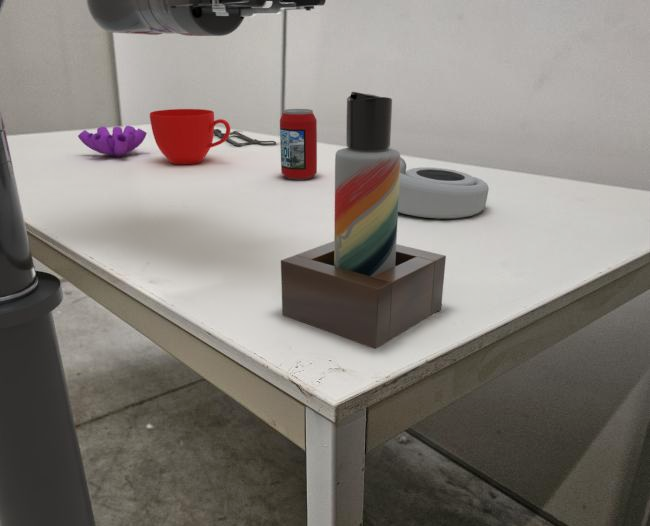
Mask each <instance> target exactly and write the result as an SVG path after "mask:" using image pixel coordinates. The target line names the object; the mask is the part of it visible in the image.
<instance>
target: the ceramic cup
mask: <svg viewBox="0 0 650 526" xmlns="http://www.w3.org/2000/svg"><path fill="white" fill-rule="evenodd" d="M149 120H150V126H151V131H152V135H153V138H154V140H155V143H156V146H157V148H158V150H159V151H160V152H161V153H162V155H163V156H164V157H165V158H166V159H167V160H168V161H169V162H170V164H174V165H195V164H200V163H202V162H203V160H204V159H205V158H206V156H207V155H208V153H209V151H210V149H212V148H214V147H217V146H219V145H222V144H223V143H224V142H226V141H227V140H226V139H227V138H229V136H230V135H229V134H230V133H231V125H230V123H229V121H227V120H226V119H223V118H218V119H215V112H214V111H213V110H210V109H200V108H175V109H173V108H170V109H160V110H153V111H151V112H150V113H149ZM218 124H223V125H224V126H225V132H224V133H225V135H224V137H221V139H220V140H217V141H215V142H213V141H214V135H215V134H214V130H215V127H216V125H218Z"/></svg>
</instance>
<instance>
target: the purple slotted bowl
mask: <svg viewBox="0 0 650 526" xmlns="http://www.w3.org/2000/svg"><path fill="white" fill-rule="evenodd" d="M147 133H148V132H146V131H145V130H144V129H141V128H137V129H136V128H135V126H131V125H126V126H125V127H124V128H122V127H120V126H113V128H112V134H111V133H110V131H109V130H108V128H107V127H106V126H100V127H98V128H97V129H96V133H93V132H89V131H87V130H86V129H84V130H82V131H81V132H80V133H79V134H78V135H77V137H78V139H79V140H80V142H81V143H82V144H84V145H85V146H86V147H87V148H89V149H90V150H92V151H95V152H97V153H99V154H103V155H105V156H110V157H117V158H120V157H122V156H124V155H127V154H128V153H130V152H133V150H135V149H137V148H138V147H140V146H141V144H142V143H143V142H144V140H145V138H146V136H147Z"/></svg>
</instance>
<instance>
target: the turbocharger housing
mask: <svg viewBox="0 0 650 526" xmlns="http://www.w3.org/2000/svg"><path fill="white" fill-rule="evenodd" d="M489 188H490V187H489V185H488V183H487V182H486V181H484V180H483V179H482V178H479V177H475V176H472V175H470V174H468V173H466V172H463V171H458V170H455V169H449V168H441V167H424V166H423V167H422V166H421V167H412V168H410V169H407V162H406V160H405V159H404V158H403V157H401V156H400V182H399V201H398V213H400V214H403V215H408V216H413V217H417V218H418V217H419V218H427V219H439V220H440V219H443V220H444V219H445V220H447V219H448V220H449V219H463V218H467V217H471V216H475V215H478V214H479V213H481V212H482V211H483V210H484V209H485V208H486V205H487V200H488V195H489V190H490V189H489Z"/></svg>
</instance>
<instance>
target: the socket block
mask: <svg viewBox="0 0 650 526" xmlns="http://www.w3.org/2000/svg"><path fill="white" fill-rule="evenodd" d="M446 260H447V256H446V255H445V254H440V253H435V252H431V251H427V250H422V249H419V248H415V247H412V246H411V247H410V246H406V245H402V244H398V243H396V260H395V267H393V268H391V269H389V270H387V271H385V272H382V273H380V274H378V275H376V276H374V277H371V276H367V275H364V274H360V273H357V272H353V271H350V270H346V269H342V268H339V267H335V266H334V240H333V241H329V242H327V243H324V244H321V245H319V246H316V247H314V248H311V249H308V250H305V251H303V252H299V253H297V254H294V255H292V256H288V257H286V258H284V259H281V260H280V281H281V313H282V315H283V316H285V317H288V318H291V319H293V320H295V321H299V322H301V323H305V324H307V325H310V326H313V327H315V328H318V329H321V330H324V331H326V332H329V333H331V334H335V335H338V336H340V337H343V338H345V339H348V340H352V341H354V342H357V343H360V344H362V345H364V346H365V345H366V346H368V347H371V348H374V349H378V348H379V347H381V346H382V345H384V344H386V343H387V342H389V341H391V340H392V339H394V338H395V337H397V336H399V335H401V334H402V333H404V332H406V331H408V330H409V329H411V328H412V327H414V326H416V325H417V324H419V323H420V322H422V321H424V320H425V319H427V318H429V317H430V316H432V315H434V314H436V313H438V312H439V311H440V310H442V303H443V294H444V282H445V281H444V280H445V270H446Z"/></svg>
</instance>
